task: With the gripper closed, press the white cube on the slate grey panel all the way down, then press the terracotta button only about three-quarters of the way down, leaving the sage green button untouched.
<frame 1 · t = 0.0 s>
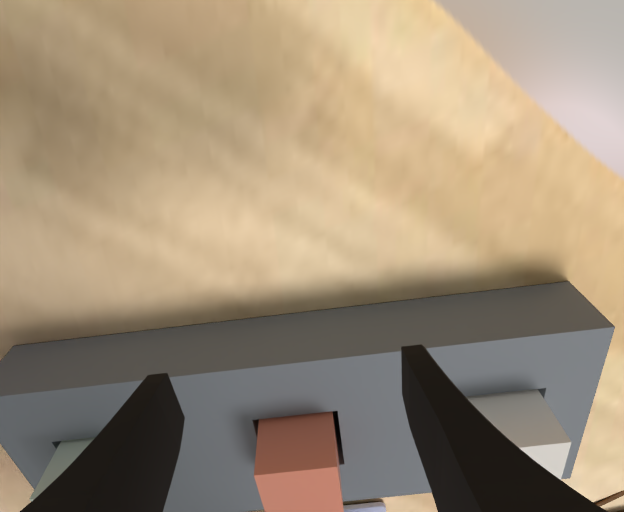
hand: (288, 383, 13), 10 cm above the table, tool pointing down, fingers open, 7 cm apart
white cube: (505, 437, 23), point 5 cm above the table, slide at 0.0 cm
sage button: (100, 480, 23), point 5 cm above the table, slide at 0.0 cm
terracotta button: (300, 459, 23), point 5 cm above the table, slide at 0.0 cm
button panel: (299, 388, 27), on the table
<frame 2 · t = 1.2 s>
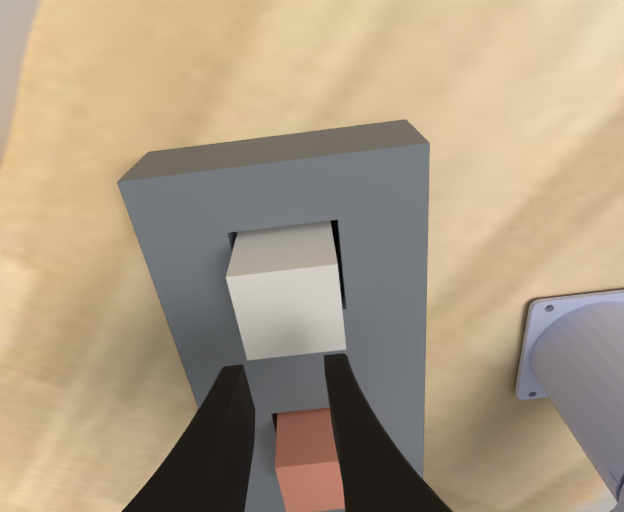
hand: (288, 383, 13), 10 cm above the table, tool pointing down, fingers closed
white cube: (290, 285, 18), point 5 cm above the table, slide at 0.0 cm
terracotta button: (318, 452, 23), point 5 cm above the table, slide at 0.0 cm
button panel: (315, 383, 28), on the table
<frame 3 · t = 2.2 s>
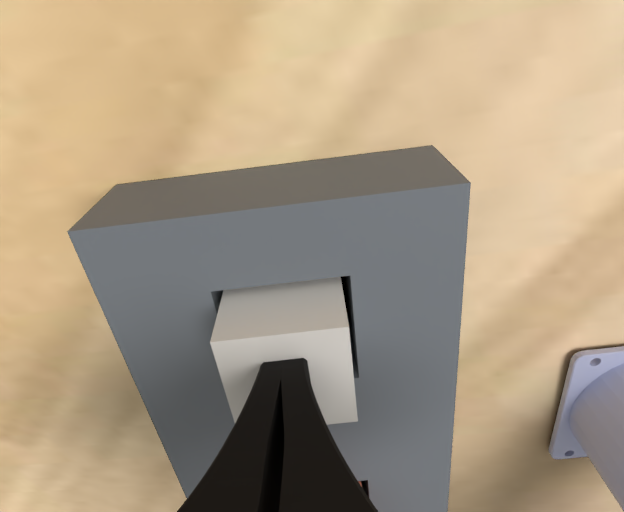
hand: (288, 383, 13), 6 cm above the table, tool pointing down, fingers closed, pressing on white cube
white cube: (289, 341, 15), point 4 cm above the table, slide at 0.8 cm, touching gripper
button panel: (318, 441, 24), on the table
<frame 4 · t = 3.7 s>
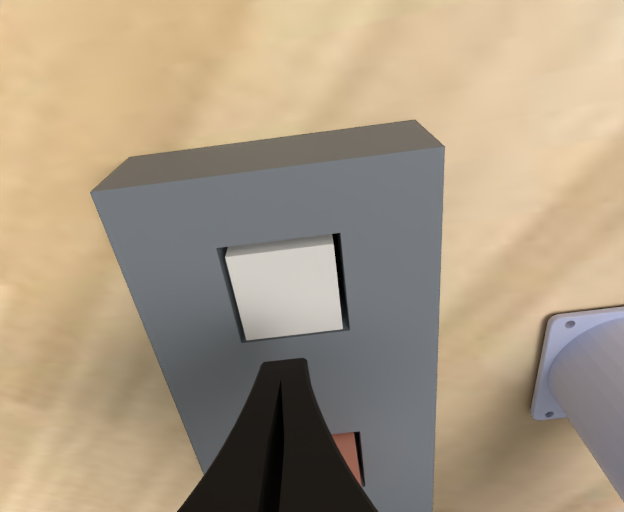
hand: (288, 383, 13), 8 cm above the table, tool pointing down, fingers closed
white cube: (287, 268, 18), point 2 cm above the table, slide at 2.8 cm
terracotta button: (319, 483, 21), point 5 cm above the table, slide at 0.0 cm
button panel: (315, 403, 26), on the table
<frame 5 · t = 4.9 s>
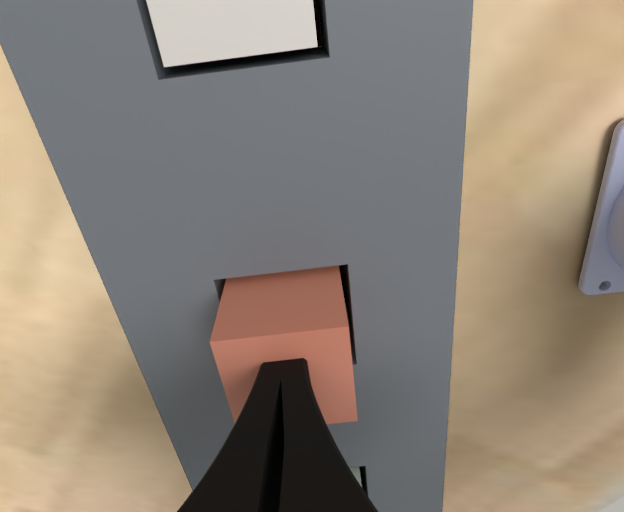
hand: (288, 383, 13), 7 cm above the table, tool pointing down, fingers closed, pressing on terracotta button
terracotta button: (289, 340, 15), point 5 cm above the table, slide at 0.1 cm, touching gripper
button panel: (291, 268, 19), on the table
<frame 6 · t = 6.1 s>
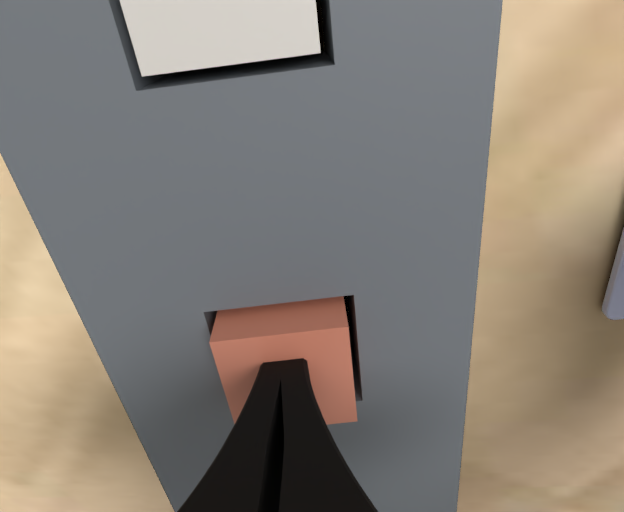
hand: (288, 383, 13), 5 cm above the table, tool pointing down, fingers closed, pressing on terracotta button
terracotta button: (289, 341, 15), point 3 cm above the table, slide at 1.9 cm, touching gripper
button panel: (290, 291, 18), on the table
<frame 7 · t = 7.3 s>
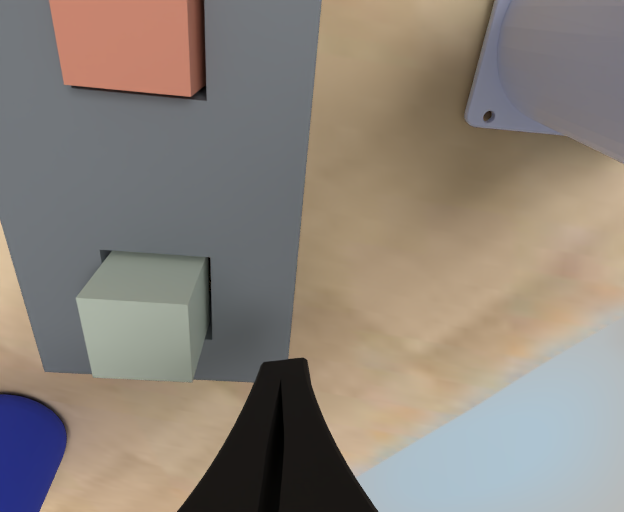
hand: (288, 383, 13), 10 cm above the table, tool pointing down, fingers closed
sage button: (153, 311, 18), point 5 cm above the table, slide at 0.0 cm
terracotta button: (141, 18, 15), point 3 cm above the table, slide at 1.9 cm
button panel: (166, 17, 17), on the table
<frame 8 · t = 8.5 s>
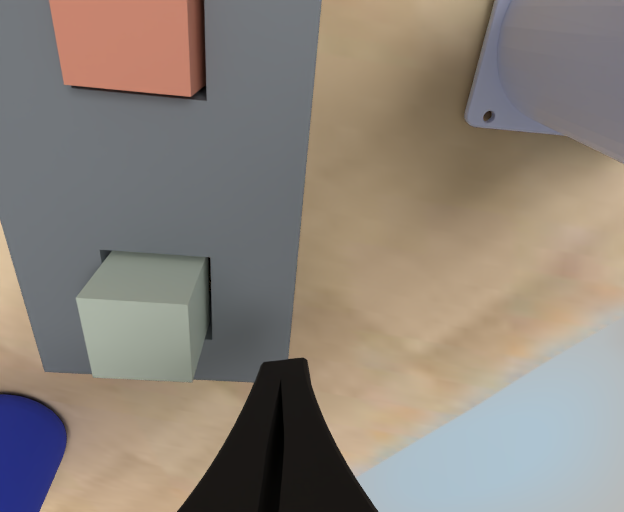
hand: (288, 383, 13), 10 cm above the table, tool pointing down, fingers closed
sage button: (153, 311, 18), point 5 cm above the table, slide at 0.0 cm
terracotta button: (141, 18, 15), point 3 cm above the table, slide at 1.9 cm
button panel: (166, 17, 17), on the table
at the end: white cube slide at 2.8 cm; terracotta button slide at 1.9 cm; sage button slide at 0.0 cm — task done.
